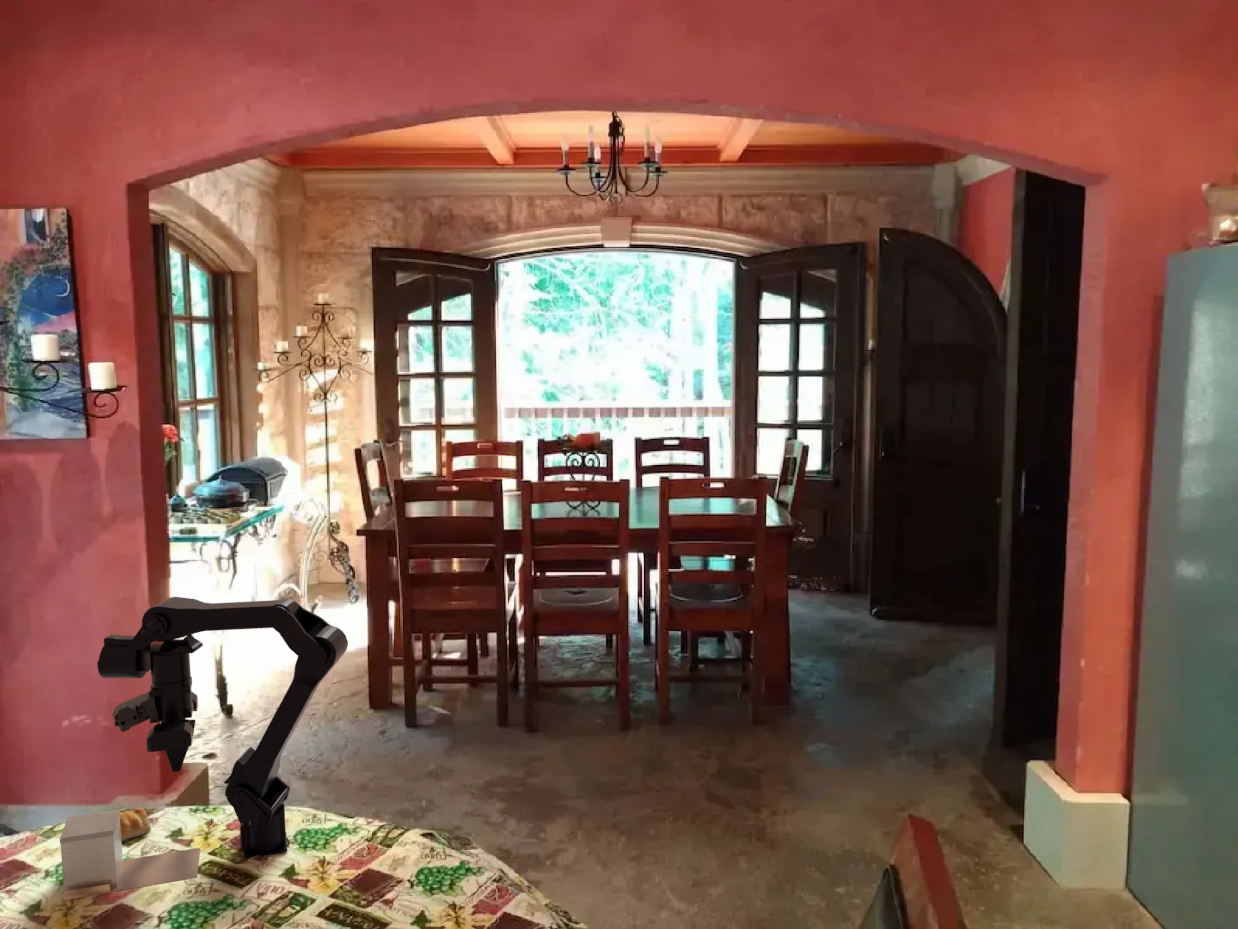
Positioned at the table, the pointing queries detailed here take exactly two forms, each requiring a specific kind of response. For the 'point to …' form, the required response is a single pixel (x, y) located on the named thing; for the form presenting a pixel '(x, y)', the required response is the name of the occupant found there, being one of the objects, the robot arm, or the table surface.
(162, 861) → the board
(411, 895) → the table surface
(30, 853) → the table surface
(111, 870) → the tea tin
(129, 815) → the pastry
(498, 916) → the table surface
